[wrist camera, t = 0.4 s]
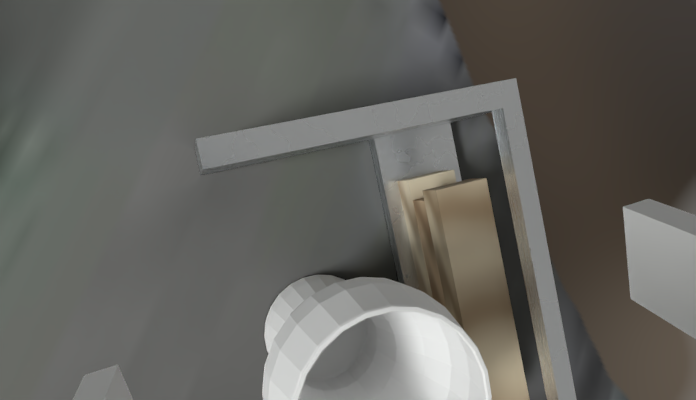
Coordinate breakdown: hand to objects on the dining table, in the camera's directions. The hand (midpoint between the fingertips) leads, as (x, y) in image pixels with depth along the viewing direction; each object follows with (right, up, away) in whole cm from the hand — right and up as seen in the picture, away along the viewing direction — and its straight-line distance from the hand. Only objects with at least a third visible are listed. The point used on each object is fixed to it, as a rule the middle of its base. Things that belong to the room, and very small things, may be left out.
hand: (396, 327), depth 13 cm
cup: (-3, -6, +25) cm, 26 cm away
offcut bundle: (+6, -4, +26) cm, 27 cm away
